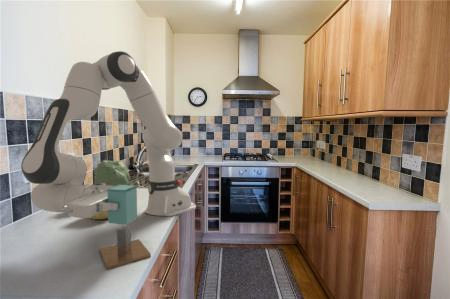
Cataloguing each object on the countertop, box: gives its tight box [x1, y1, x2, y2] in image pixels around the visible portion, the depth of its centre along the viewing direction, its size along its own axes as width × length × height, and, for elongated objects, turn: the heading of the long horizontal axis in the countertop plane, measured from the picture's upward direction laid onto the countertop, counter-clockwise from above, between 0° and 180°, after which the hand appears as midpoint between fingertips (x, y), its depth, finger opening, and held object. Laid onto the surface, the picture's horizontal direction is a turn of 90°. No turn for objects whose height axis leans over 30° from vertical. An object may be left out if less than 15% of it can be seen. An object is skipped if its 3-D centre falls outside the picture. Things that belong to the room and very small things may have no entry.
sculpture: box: [90, 210, 108, 220], centre depth 106 cm, size 11×12×11 cm
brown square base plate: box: [99, 226, 152, 270], centre depth 76 cm, size 17×17×8 cm
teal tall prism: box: [107, 184, 138, 226], centre depth 75 cm, size 6×6×10 cm
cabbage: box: [92, 159, 131, 186], centre depth 136 cm, size 16×19×20 cm
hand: (125, 202), depth 75 cm, fingers closed on teal tall prism, 6 cm apart
